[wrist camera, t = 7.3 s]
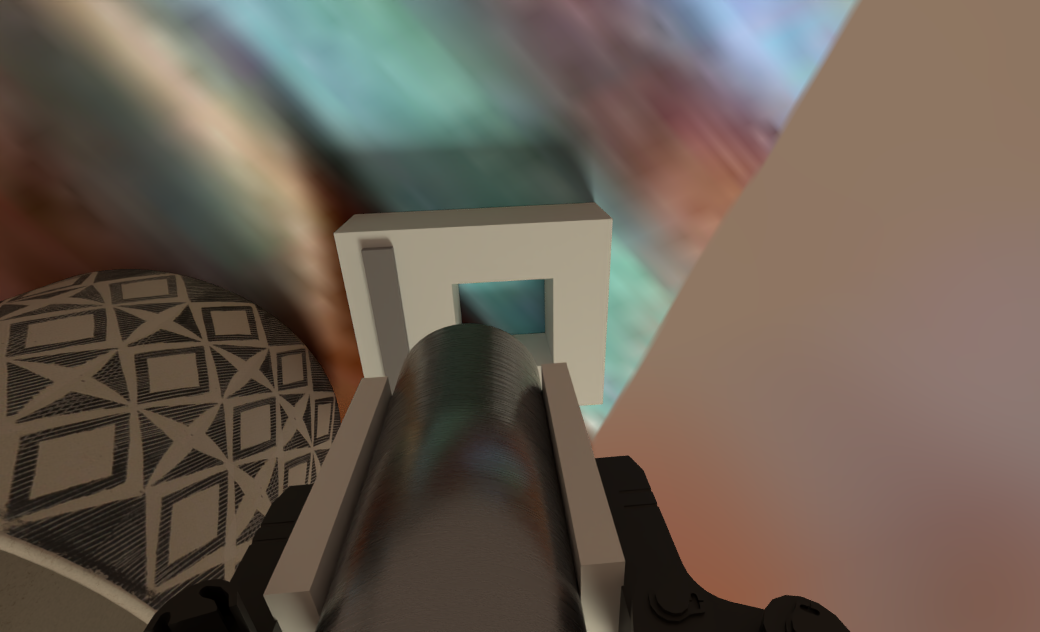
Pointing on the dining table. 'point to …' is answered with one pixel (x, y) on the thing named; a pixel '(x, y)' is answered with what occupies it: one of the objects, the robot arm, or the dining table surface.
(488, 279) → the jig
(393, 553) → the metal cylinder
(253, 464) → the planter
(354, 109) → the dining table surface
